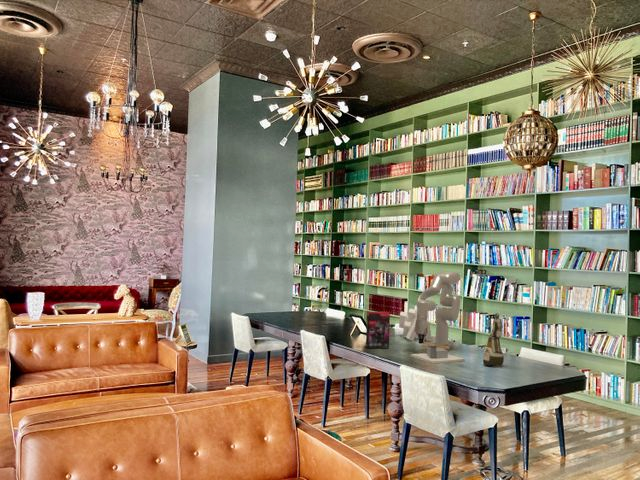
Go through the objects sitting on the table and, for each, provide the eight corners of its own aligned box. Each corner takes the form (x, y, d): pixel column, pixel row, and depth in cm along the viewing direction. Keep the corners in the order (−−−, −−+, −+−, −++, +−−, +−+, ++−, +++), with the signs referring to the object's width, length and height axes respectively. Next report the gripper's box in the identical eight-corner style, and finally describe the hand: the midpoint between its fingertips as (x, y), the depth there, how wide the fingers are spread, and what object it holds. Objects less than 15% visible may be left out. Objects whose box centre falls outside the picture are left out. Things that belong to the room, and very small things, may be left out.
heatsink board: (441, 354, 367) (441, 340, 367) (464, 361, 346) (465, 346, 346) (410, 356, 354) (410, 342, 354) (432, 363, 333) (433, 348, 333)
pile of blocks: (387, 341, 441) (386, 308, 425) (410, 326, 457) (410, 294, 442) (418, 359, 416) (418, 325, 400) (441, 343, 432) (442, 309, 417)
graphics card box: (367, 348, 375) (369, 312, 376) (364, 346, 382) (366, 311, 383) (389, 348, 379) (390, 312, 379) (386, 347, 386) (387, 311, 386)
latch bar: (449, 348, 355) (449, 344, 355) (448, 348, 352) (448, 344, 352) (424, 345, 361) (424, 341, 361) (423, 345, 358) (423, 342, 358)
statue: (495, 362, 345) (497, 311, 345) (508, 366, 335) (510, 313, 336) (477, 364, 337) (479, 312, 338) (490, 368, 327) (492, 314, 328)
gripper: (411, 316, 371) (410, 341, 371) (424, 319, 358) (423, 345, 357) (419, 316, 375) (418, 341, 374) (432, 319, 361) (431, 344, 361)
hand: (421, 343), depth 366 cm, fingers closed
